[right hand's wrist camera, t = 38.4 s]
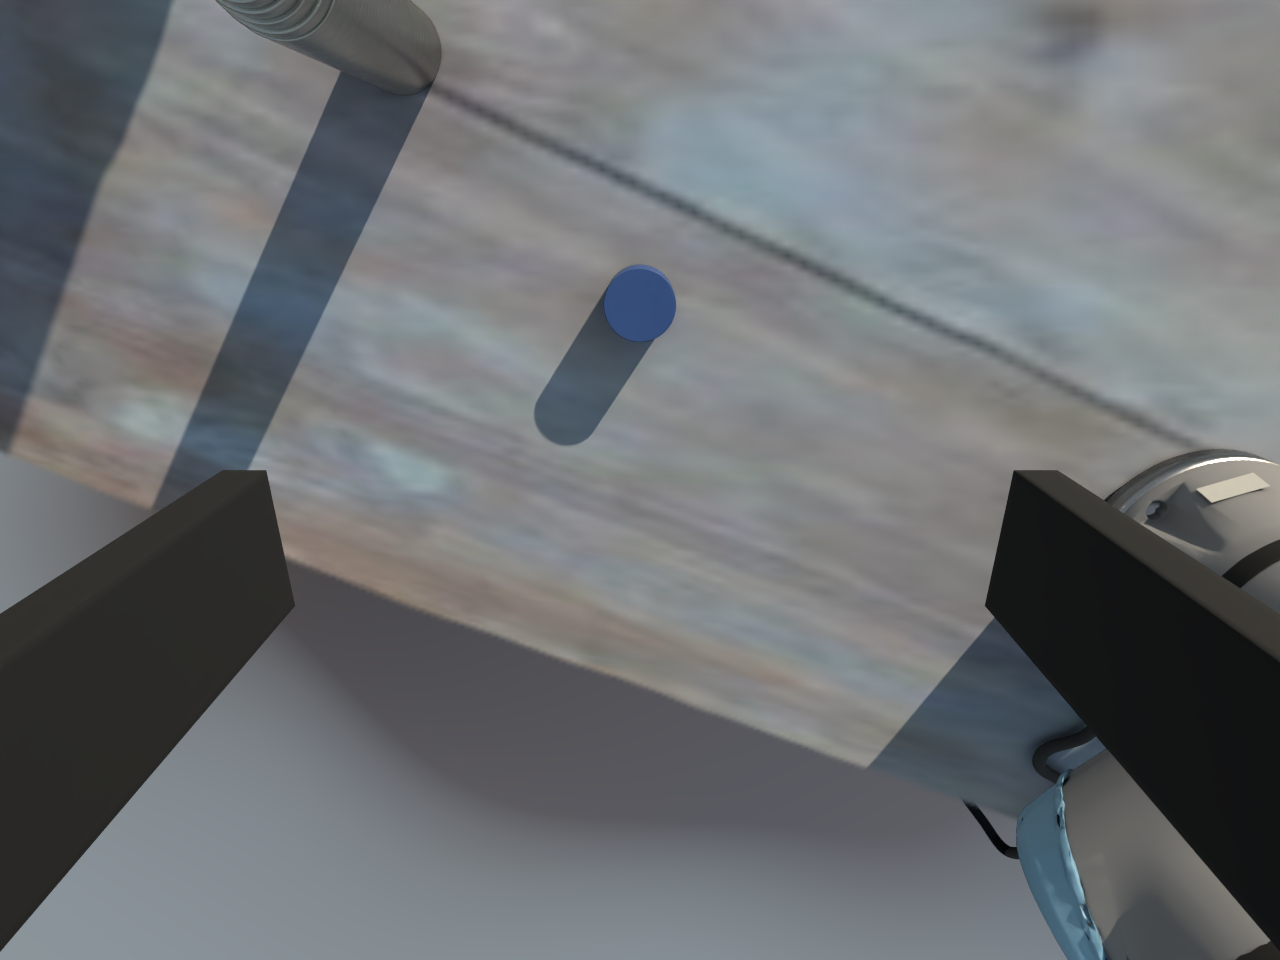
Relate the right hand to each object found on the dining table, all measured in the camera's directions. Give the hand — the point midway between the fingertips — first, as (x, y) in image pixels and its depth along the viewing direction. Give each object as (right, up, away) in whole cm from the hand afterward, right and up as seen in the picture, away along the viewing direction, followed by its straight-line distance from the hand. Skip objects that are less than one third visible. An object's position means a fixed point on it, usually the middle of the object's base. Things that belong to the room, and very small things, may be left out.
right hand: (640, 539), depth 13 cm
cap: (0, +11, +28) cm, 30 cm away
